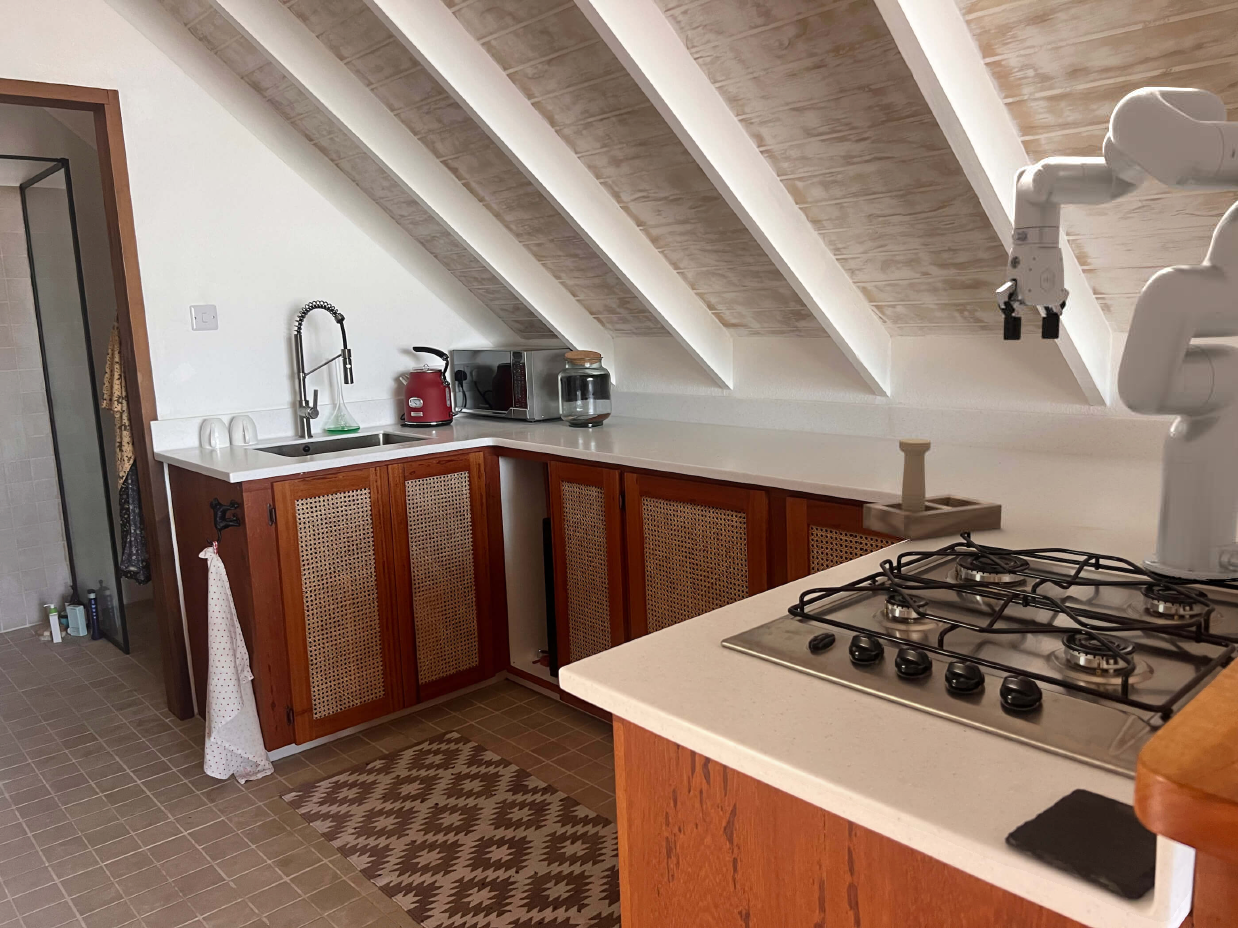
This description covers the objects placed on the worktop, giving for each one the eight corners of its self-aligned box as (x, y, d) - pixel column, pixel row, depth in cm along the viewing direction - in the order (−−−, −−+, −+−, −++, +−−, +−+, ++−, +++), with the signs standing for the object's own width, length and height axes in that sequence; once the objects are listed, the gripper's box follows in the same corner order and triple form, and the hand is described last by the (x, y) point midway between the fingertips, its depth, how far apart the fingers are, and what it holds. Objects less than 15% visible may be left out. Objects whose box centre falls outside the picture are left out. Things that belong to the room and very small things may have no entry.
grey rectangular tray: (1000, 527, 165) (1001, 504, 164) (912, 540, 156) (912, 516, 156) (948, 515, 176) (949, 494, 175) (863, 527, 167) (863, 504, 166)
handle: (923, 524, 167) (925, 438, 165) (931, 531, 160) (934, 443, 158) (894, 524, 167) (896, 438, 165) (902, 531, 161) (904, 443, 159)
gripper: (1018, 236, 159) (1014, 340, 161) (1087, 239, 167) (1082, 338, 169) (982, 240, 165) (979, 340, 168) (1050, 243, 173) (1046, 338, 176)
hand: (1031, 339), depth 168 cm, fingers open, 9 cm apart
